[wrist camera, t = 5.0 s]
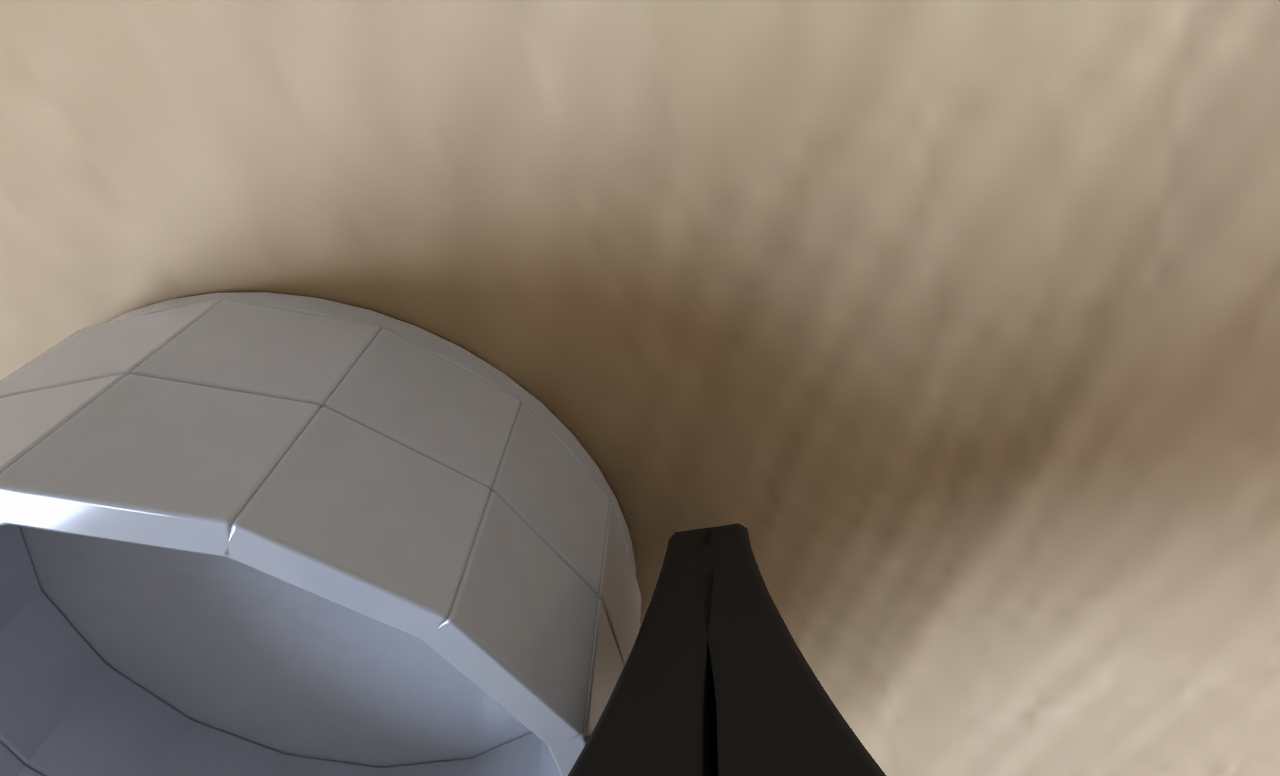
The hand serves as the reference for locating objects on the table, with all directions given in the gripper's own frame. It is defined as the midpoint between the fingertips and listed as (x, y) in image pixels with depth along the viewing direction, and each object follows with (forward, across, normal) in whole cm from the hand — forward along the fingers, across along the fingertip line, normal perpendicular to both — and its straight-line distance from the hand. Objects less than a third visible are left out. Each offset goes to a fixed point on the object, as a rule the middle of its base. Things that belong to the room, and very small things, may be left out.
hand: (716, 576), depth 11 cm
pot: (+1, +7, 0) cm, 7 cm away
